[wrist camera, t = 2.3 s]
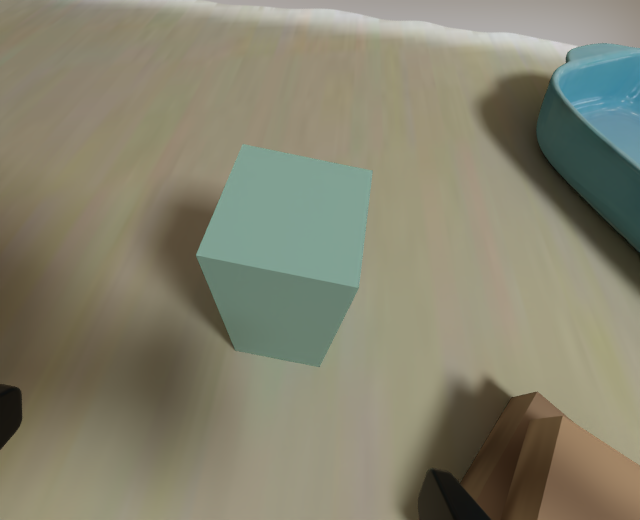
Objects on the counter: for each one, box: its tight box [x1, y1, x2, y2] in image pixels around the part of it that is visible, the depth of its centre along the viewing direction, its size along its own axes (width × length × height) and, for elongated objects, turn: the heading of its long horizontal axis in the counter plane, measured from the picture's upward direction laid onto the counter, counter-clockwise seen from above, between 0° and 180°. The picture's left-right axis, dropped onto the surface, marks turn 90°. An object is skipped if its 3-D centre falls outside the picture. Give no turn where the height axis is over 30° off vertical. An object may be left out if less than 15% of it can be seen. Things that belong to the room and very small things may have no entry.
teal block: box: [196, 144, 372, 367], centre depth 18 cm, size 6×6×12 cm
